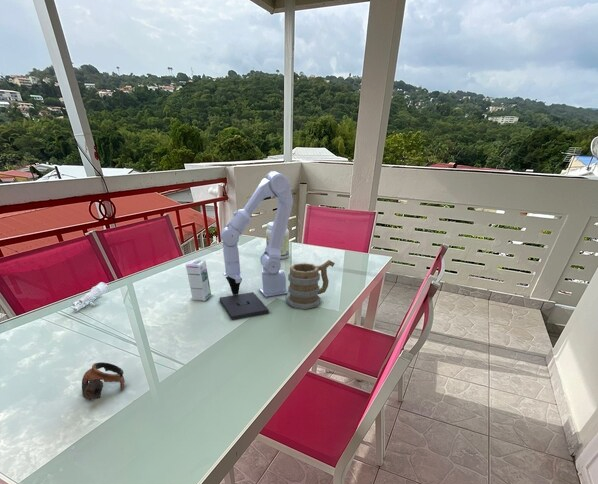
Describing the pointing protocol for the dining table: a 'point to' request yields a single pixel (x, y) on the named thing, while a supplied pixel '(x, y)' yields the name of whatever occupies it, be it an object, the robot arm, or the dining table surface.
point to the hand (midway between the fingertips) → (235, 294)
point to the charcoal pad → (246, 309)
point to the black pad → (238, 299)
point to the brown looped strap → (95, 376)
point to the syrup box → (198, 280)
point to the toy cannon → (91, 296)
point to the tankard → (307, 284)
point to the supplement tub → (285, 242)
